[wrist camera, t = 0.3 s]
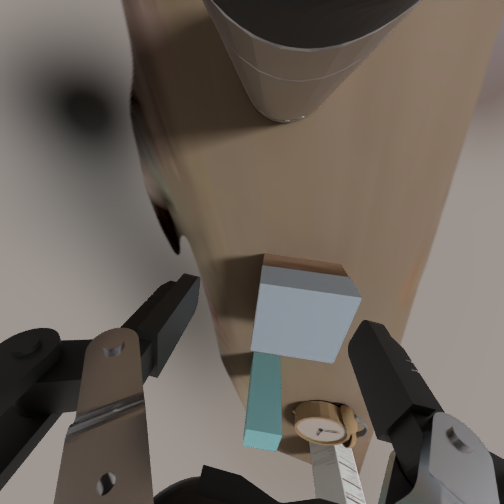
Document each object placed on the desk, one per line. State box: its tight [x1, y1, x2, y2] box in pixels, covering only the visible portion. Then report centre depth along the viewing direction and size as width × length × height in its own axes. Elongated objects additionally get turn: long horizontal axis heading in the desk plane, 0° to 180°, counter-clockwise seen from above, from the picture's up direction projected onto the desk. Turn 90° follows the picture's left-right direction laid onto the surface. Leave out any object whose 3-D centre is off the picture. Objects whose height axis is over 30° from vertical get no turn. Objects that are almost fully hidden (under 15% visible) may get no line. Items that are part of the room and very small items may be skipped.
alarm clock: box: [292, 401, 368, 448], centre depth 44 cm, size 11×5×15 cm
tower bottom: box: [253, 253, 348, 326], centre depth 30 cm, size 11×11×4 cm
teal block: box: [243, 352, 282, 452], centre depth 34 cm, size 5×5×12 cm
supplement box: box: [309, 442, 366, 504], centre depth 45 cm, size 7×7×13 cm
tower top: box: [251, 265, 362, 363], centre depth 26 cm, size 11×11×4 cm
